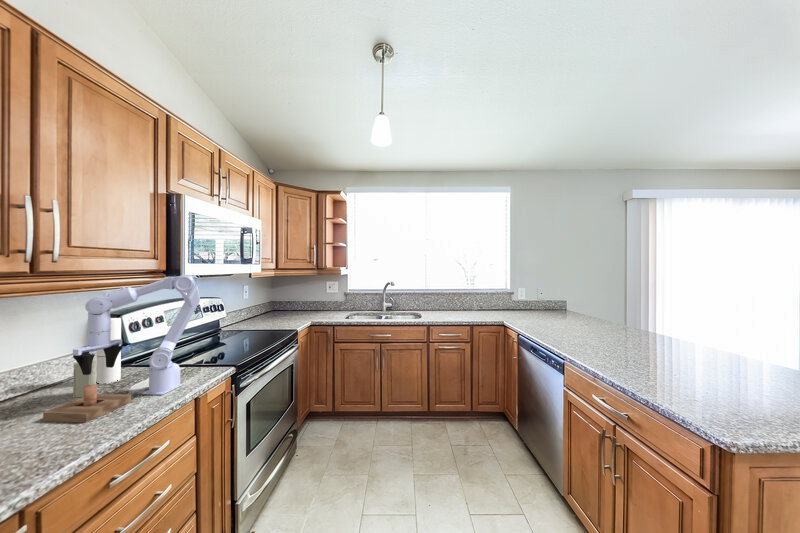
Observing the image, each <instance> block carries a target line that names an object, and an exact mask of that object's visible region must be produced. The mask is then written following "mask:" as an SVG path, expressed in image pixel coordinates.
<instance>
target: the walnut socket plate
mask: <svg viewBox="0 0 800 533" xmlns="http://www.w3.org/2000/svg"><path fill="white" fill-rule="evenodd" d="M129 403H132V395H131V394H117V393H97V404H94V405H92V406H90V407H83V397H79V398H78V399H75V400H73V401H70V402H68V403H65V404H62V405H59V406H56V407H54V408H52V409H49V410H47V411H43V412H42V414H43V415H42V418H43V419H42V421H43V422H61V423H62V422H63V423H64V422H66V423H88V422H91V421H93V420H96V419H97V418H99V417H101V416H104V415H105V414H108V413H111V412H113V411H115V410H117V409H119V408H121V407H123V406H125V405H127V404H129Z"/></svg>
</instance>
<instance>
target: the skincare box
mask: <svg viewBox="0 0 800 533" xmlns="http://www.w3.org/2000/svg"><path fill="white" fill-rule="evenodd" d="M96 377H97V357H95V358H93V361H92V370H91V374H90V375H83V373H82V370H81V368H80V366H79V364H78V362H77V361H76V362H75V363H74V364H73V379H72V381H73V382H72V383H73V384H72V388H73V389H72V398H73V399H75V398H83V396H84V386H87V385H91V384H97V383H96Z"/></svg>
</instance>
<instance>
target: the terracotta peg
mask: <svg viewBox="0 0 800 533" xmlns="http://www.w3.org/2000/svg"><path fill="white" fill-rule="evenodd" d="M97 394H98V384H97V383H96V384H91V385H87V386H84V396H83V397H82V398H83V407H90V406H92V405H94V404H97Z"/></svg>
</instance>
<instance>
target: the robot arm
mask: <svg viewBox="0 0 800 533" xmlns="http://www.w3.org/2000/svg"><path fill="white" fill-rule="evenodd" d="M161 290H176V291H177V292H179V294H180V295H181V296H182V299H183V300H184V303H183V304H182V306H181V308H180V309H179V312H178V313H177V315H176V317H175V319H174V321H173V323H172V324H171V326H170V328H169V329H168V331H167V333H166V335H165V336H164V338H163V340H162V342H161V344H160V345H159V347H157V348H156V349H155V350H154V351H153V353H152V355H150V357H149V359H148V364H149V368H148V373H149V374H148V390H145V391H144V392H142V393H141V394H142V395H151V396H153V395H155V396H157V395H158V396H160V395H161V396H163V395H165V394H167V393H170V392H171V391H173V390H176V389H177V388H180V387H181V386H183V383H181V368H180V365H179V364H178V363H176V362H173V361H172V358H173V356H174V349H175V347H176V345H177V343H178V342H179V340H180V339H181V336H182V335H183V333H184V331H185V330H186V327H187V326H188V324H189V322H190V320H191V318H192V316H193V315H194V312H195V311H196V309H197V307H198V305H199V304H200V302H201V297H200V292H199V287H198V283H197V282H196V280H195V278H194V277H193V276H192V275H189V274H183V275H182V274H181V275H179V276H173V277H172V276H171V277H168V278H162V279H159V280H157V281H154V282H151V283H148V284H146V285H142V286H140V287H137V288H135V287H134V288H133V287H130V286H128V287H125V286H122V287H120V288H119V289H118V290H115V291H112V292H109V293H107V292H105V293H102V295H100V296H94V297H92V298H91V299H88V301H86V303H85V306H84V307H85V310H86V311H87V335H86V336H87V343H85V345H83V346H81V347H77V348H74V349H72V357H73V359H74V360H75V361H76V362H78V364H79V366H80V368H81V370H82V373H83V375H90V374H91V370H92V361H93V358H94V357H95V356H96V355H95V353H93V352H95V351H96V352H97V350H100V349H103V350H104V353H105V357H106V367H110V368H112V367H114V364H115V361H116V358H117V356H118V354H119V352H120V351H121V352H122V349H123V339H122V338H121V339H116V340H111V318H112V317H111V309H119V308H121V307H125V306H127V305H130V304H133V303H136V302H137V301H138V299H139V298H140V297H142V296H146V295H149V294H152V293H155V292H158V291H161ZM119 345H121V346H119Z"/></svg>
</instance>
